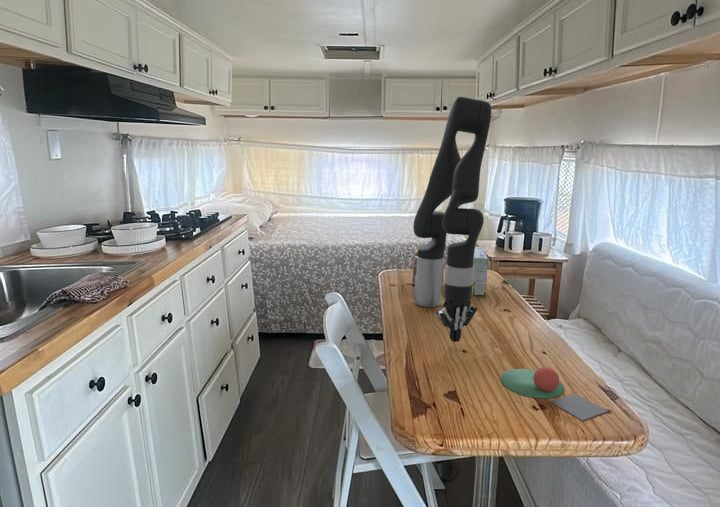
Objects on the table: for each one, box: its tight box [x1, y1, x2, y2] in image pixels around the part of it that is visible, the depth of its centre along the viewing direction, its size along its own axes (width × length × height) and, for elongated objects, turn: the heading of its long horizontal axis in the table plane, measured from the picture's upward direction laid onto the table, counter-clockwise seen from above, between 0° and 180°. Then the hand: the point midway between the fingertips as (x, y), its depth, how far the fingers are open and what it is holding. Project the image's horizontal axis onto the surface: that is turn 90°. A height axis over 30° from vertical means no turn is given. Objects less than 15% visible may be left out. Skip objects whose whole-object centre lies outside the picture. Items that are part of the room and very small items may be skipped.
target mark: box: [500, 368, 565, 400], centre depth 108 cm, size 14×14×1 cm
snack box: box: [472, 246, 489, 297], centre depth 183 cm, size 21×6×15 cm, turn 172°
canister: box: [411, 242, 446, 286], centre depth 187 cm, size 13×13×18 cm
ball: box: [533, 366, 560, 392], centre depth 104 cm, size 6×6×6 cm
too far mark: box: [550, 393, 609, 422], centre depth 98 cm, size 8×8×1 cm
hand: (454, 340), depth 128 cm, fingers closed
